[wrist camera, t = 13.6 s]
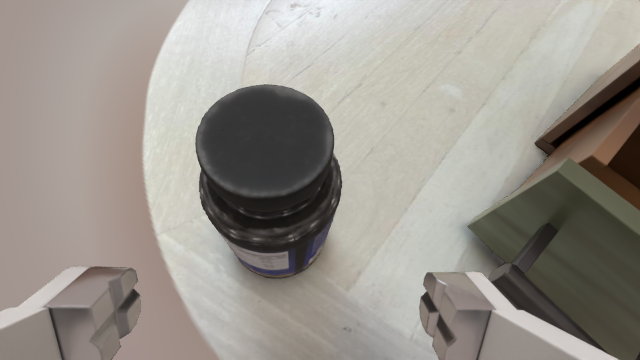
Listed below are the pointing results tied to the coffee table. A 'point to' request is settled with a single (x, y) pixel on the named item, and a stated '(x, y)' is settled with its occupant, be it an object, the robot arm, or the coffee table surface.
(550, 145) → the cabinet
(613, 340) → the drawer
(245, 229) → the pill bottle
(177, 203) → the coffee table surface
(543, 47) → the coffee table surface
